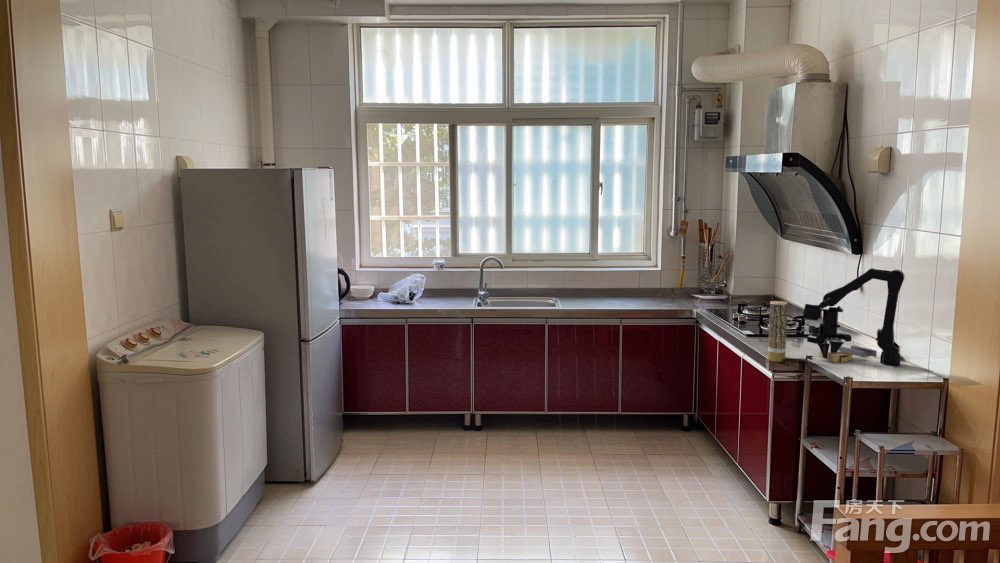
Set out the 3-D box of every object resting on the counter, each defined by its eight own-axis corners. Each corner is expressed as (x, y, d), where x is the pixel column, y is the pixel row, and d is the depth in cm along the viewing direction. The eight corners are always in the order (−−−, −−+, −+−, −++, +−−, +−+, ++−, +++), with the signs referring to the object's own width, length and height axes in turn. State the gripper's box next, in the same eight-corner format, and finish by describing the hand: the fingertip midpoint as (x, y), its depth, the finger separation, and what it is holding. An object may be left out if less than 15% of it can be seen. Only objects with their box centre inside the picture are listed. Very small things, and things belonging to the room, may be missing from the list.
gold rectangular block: (847, 365, 286) (848, 356, 285) (841, 366, 284) (841, 357, 284) (825, 359, 297) (825, 351, 296) (818, 360, 296) (819, 351, 295)
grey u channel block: (876, 358, 298) (876, 350, 297) (861, 360, 295) (861, 352, 295) (853, 353, 309) (854, 345, 309) (838, 354, 306) (839, 346, 306)
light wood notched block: (851, 364, 287) (852, 353, 287) (834, 366, 284) (835, 355, 284) (844, 362, 291) (844, 351, 290) (827, 364, 288) (827, 353, 287)
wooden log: (786, 362, 290) (789, 303, 287) (769, 362, 291) (771, 303, 289) (783, 359, 297) (785, 301, 294) (766, 358, 298) (768, 301, 295)
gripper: (832, 317, 302) (830, 353, 304) (798, 320, 296) (796, 356, 297) (853, 321, 291) (851, 358, 293) (818, 324, 285) (816, 361, 287)
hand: (828, 358), depth 293 cm, fingers closed on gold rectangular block, 4 cm apart
